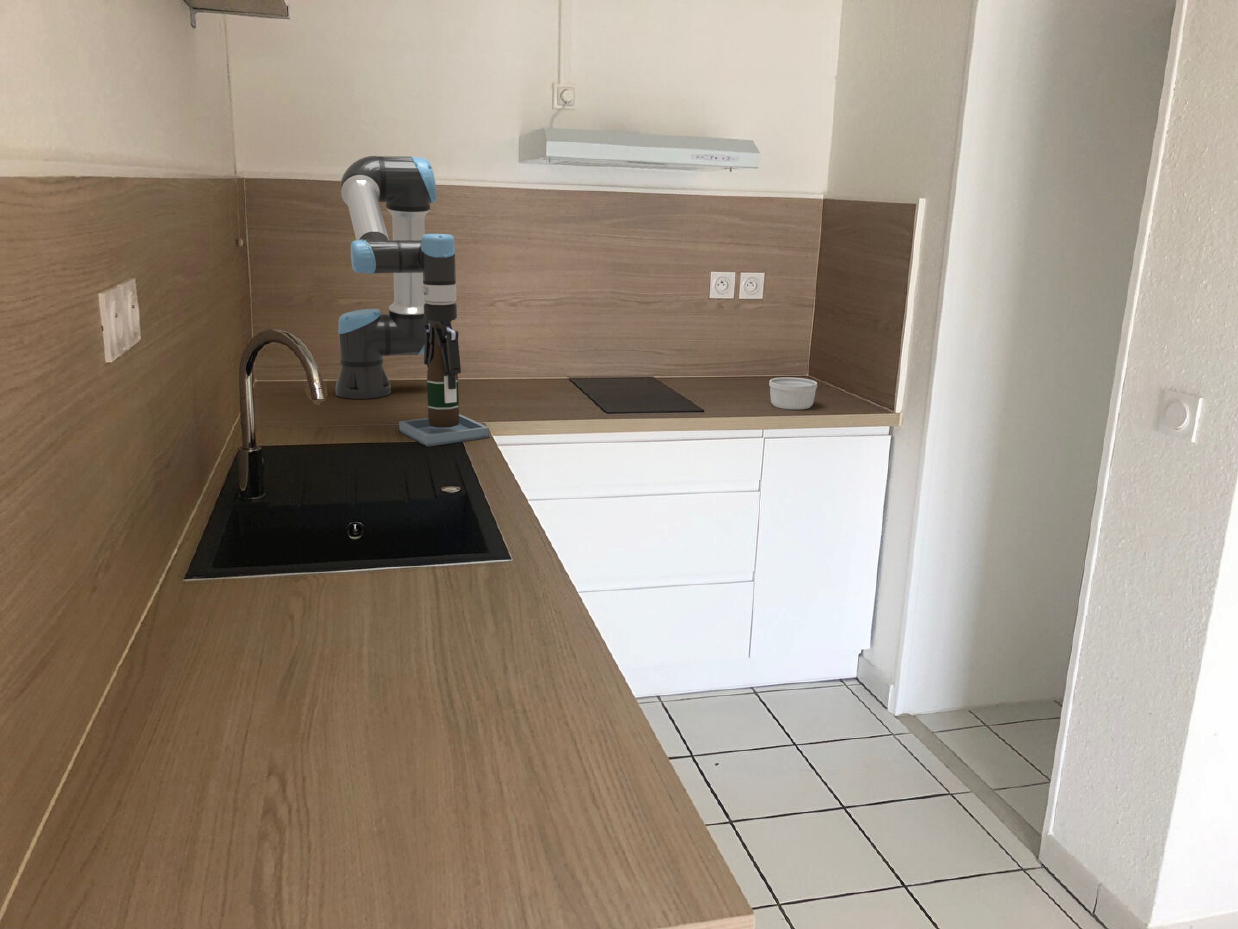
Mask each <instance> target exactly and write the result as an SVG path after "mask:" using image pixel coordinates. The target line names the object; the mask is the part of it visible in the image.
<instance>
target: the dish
mask: <svg viewBox="0 0 1238 929" xmlns="http://www.w3.org/2000/svg"><path fill="white" fill-rule="evenodd" d="M398 425H399V426H398V427H399V433H402V434H403V435H405V436H407V437H409V438H410V439H413V440H414V441H416V442H417V443H420V444H421V445H423V446H425V447H427V448H428V447H434V446H435V447H436V446H440V445H448V444H454V443H455V444H456V443H462V442H468V441H477V440H482V439H489V438H490V427H489V426H487V425H485V424H482V423H480V422H478V421H477V420H474V419H472V418H469V417H467V416H465V415H463V414H460V413H459V424H458V425H457V426H453V427H445V428H437V427H433V426H430V425H429V419H428V417H425V418H417V419H410V420H402V421H401V420H400V421H398Z"/></svg>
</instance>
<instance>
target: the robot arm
mask: <svg viewBox="0 0 1238 929" xmlns="http://www.w3.org/2000/svg"><path fill="white" fill-rule="evenodd" d="M435 178H436V177H435V174H434V170H433V166H432V164H431V162H430V161H429V160H428V159H427V158H424V157H418V156H417V157H416V156H411V155H410V156H403V155H402V156H399V155H398V156H392V155H391V156H388V155H387V156H386V155H385V156H384V155H383V156H382V155H381V156H379V155H378V156H377V155H369V156H368V155H367V156H364V157H361V158H359V159H358V160H356V161H355V162H353V163H351V164H350V165H349V167H348V168H346V170H345V172H344V173H343V175H342V177H341V180H340V184H339V185H340V187H339V188H340V190H339V191H340V194H341V199H342V201H343V202H344V203H345V205H346V206H347V208H348V211H349V212H348V213H349V216H350V219H351V224H352V228H353V232H354V236H355V240H353V241H352V242H351V243H350V260H351V261H350V262H351V268H352V270H353V272H355V273H357V274H368V275H373V274H393V298H394V299H393V302H392V303H391V304H390V305H389V306H388V313H386V314H384V313H383V314H382V311H381V310H380V309H379V308H366V309H358V310H352V311H349V312H345V313H343V314H341V315H340V317H339V318H338V321H337V322H338V329H337V330H338V331H337V333H338V334H337V335H338V337H339V338H338V340H339V358H340V359H339V360H340V361H339V362H340V367H339V368H340V369H339V373H338V376H337V379H336V384H335V396H337V397H340V398H343V399H352V400H359V399H360V400H367V399H368V400H369V399H377V398H381V397H386V396H388V395H390V394H392V388H391V383H390V380H389V378H388V374H387V372H386V369H385V367H384V357H388V356H389V357H390V356H395V357H396V356H419V355H423V363H424V365H426V367H427V368H428V367H429V364H430V362H431V361H432V359H433V356H434V340H435V336H436V337H437V342H438V346H439V347H440V348H441V352H442V357H443V362H444V367H445V372H446V373H444V374H443V376H444V392H445V403H453V402H457V393H456V375H457V374H458V375H460V374H461V373H462V368H461V359H460V347H459V330H453V327H452V326H453V325H452V322H453V321H455V320H456V319H458V318H457V317H458V314H457V313H458V311H457V309H458V308H457V304H456V303H455V302H456V301H457V299H458V298H457V282H456V281H457V279H456V277H457V276H456V274H457V273H456V271H457V270H456V251H457V250H456V244H455V237H454V236H453V234H451V233H450V234H449V233H448V234H447V233H426V230H425V228H426V227H425V226H426V225H425V224H426V223H425V221H426V220H425V218H426V215H427V214H428V213H429V212H430V211H431V204H435V203H437V193H438V192H437V184H436V179H435ZM380 203H385V207H386V208H385V209H386V210H387V211H388V212H389V213H390V214H391V217H392V220H391V222H392V240H391V239H389V235H388V231H387V227H386V222H385V220H384V217H383V213H382V208H381V206H380ZM435 324H437V325H438V326H439V328H438V329H435V330H434V329H433V328H434V325H435Z"/></svg>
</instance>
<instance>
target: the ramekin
mask: <svg viewBox="0 0 1238 929" xmlns="http://www.w3.org/2000/svg"><path fill="white" fill-rule="evenodd" d="M768 385H769V393H770V402H771V404H772V405H773V406H774V407H775V408H778V409H783V410H792V411H793V410H794V411H795V410H798V411H800V410H806V409H807V410H808V409H810V408H811V407H812V406H813V404H814V401H815V396H816V390H817V388H818V382H817V381H815V380H812V379H808V378H802V377H787V376H786V377H775V378H771V379H770V380H769V383H768Z"/></svg>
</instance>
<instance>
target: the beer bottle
mask: <svg viewBox="0 0 1238 929" xmlns="http://www.w3.org/2000/svg"><path fill="white" fill-rule="evenodd" d="M438 328H439V326H438V325H437V324H435V325H434V328H433V329H434V330H435V329H438ZM444 373H446V372H445V367H444V362H443V357H442V352H441V348H440V347H439V346H438V342H437V337H436V336H435V340H434V356H433V359H432V361H431V362H430V364H429V367H427V372H426V374H427V375H426V385H427V386H426V387H427V413H428V416H427V418H428V419H429V425H430V426H433V427H437V428H445V427H453V426H457V425H458V424H459V414H460V406H459V405H460V403H459V402H460V401H459V399H460V398H459V376H458V375H459V374H457V375H456V393H457V402H453V403H445V392H444V376H443V374H444Z"/></svg>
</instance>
